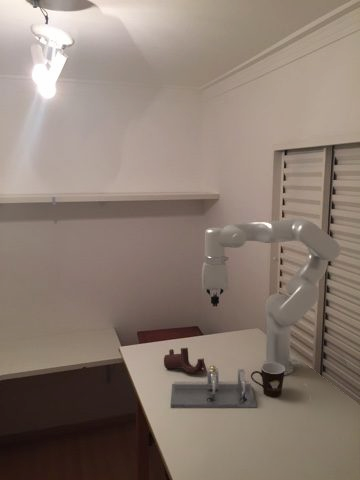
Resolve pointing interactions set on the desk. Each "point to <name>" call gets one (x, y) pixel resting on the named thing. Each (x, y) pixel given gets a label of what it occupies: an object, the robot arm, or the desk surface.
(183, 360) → the bracket
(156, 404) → the desk surface
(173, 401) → the bolt plate and beam
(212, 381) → the sliding leg
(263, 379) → the coffee mug
